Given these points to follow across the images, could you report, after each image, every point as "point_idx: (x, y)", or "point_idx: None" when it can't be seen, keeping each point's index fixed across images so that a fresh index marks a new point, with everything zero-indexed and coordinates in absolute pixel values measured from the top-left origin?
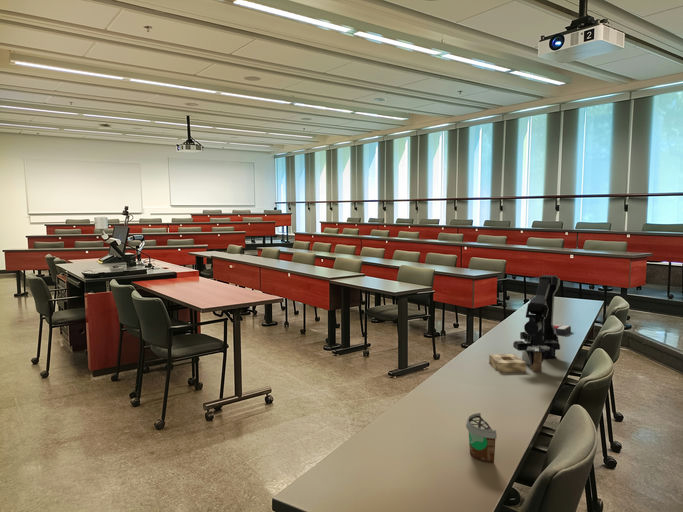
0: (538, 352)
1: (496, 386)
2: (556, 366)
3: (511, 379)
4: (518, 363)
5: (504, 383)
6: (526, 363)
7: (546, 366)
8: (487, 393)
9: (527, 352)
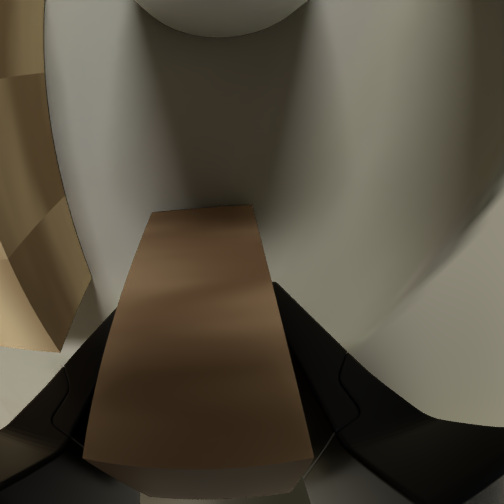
0: (252, 489)
1: (5, 407)
2: (474, 148)
3: (27, 379)
4: (1, 339)
5: (17, 399)
6: (162, 22)
7: (399, 126)
8: (6, 425)
9: (29, 440)
